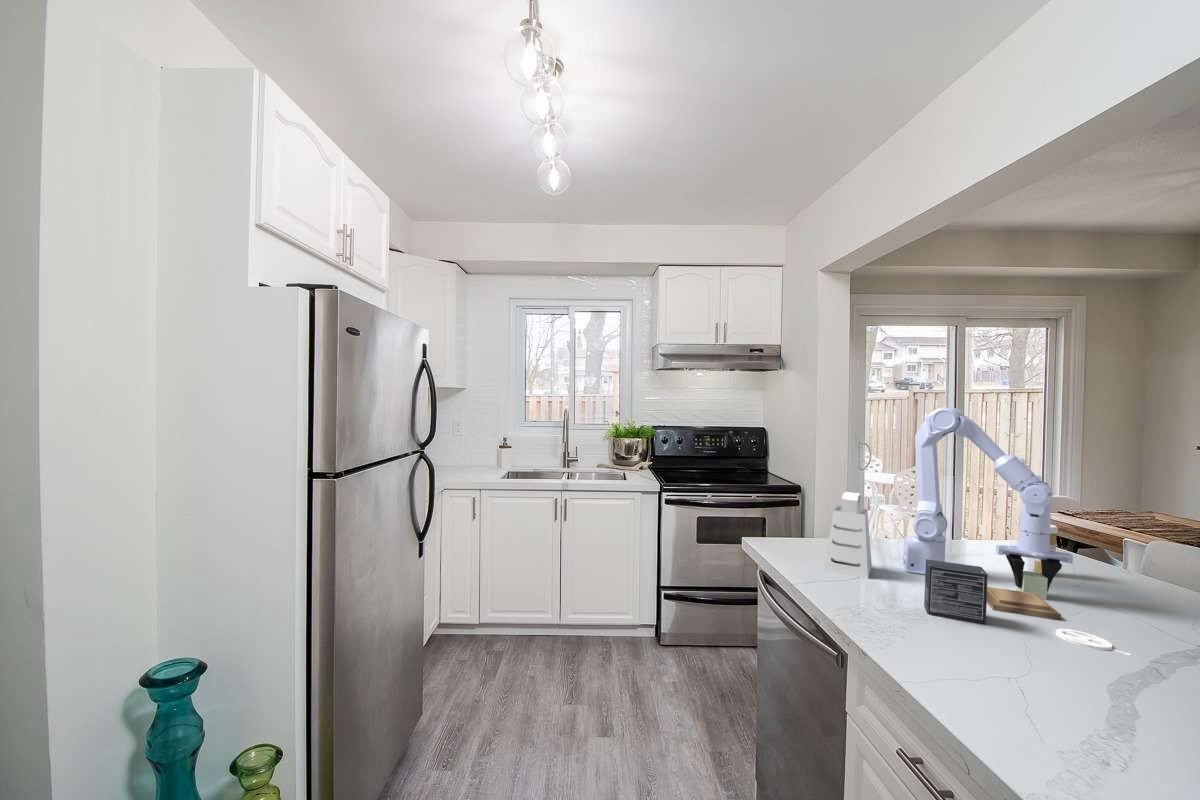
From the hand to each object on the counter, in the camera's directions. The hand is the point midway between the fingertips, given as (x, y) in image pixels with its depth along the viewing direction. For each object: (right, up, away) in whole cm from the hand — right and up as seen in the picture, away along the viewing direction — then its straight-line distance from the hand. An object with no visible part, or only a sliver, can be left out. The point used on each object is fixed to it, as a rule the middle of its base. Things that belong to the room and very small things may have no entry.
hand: (1031, 588), depth 129 cm
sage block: (0, -2, 0) cm, 2 cm away
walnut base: (-9, -1, -7) cm, 12 cm away
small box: (-28, -1, -14) cm, 31 cm away
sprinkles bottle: (+17, -2, +17) cm, 24 cm away
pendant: (-9, -2, -26) cm, 27 cm away
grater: (-37, 0, +14) cm, 40 cm away
